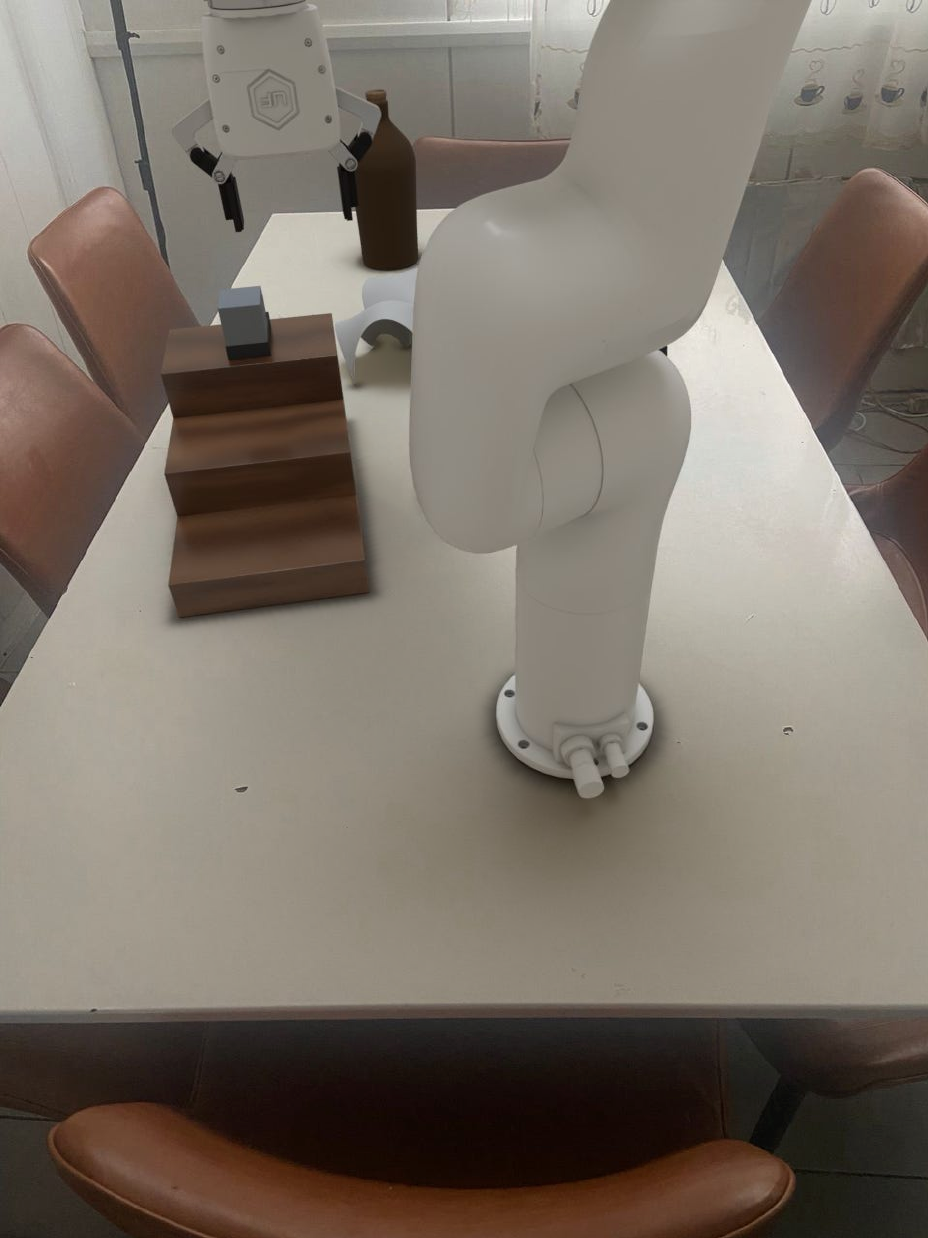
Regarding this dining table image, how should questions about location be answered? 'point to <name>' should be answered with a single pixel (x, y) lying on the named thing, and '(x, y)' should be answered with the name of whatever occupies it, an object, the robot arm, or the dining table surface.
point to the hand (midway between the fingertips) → (294, 221)
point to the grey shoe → (244, 323)
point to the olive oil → (387, 195)
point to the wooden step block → (260, 471)
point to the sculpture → (380, 314)
